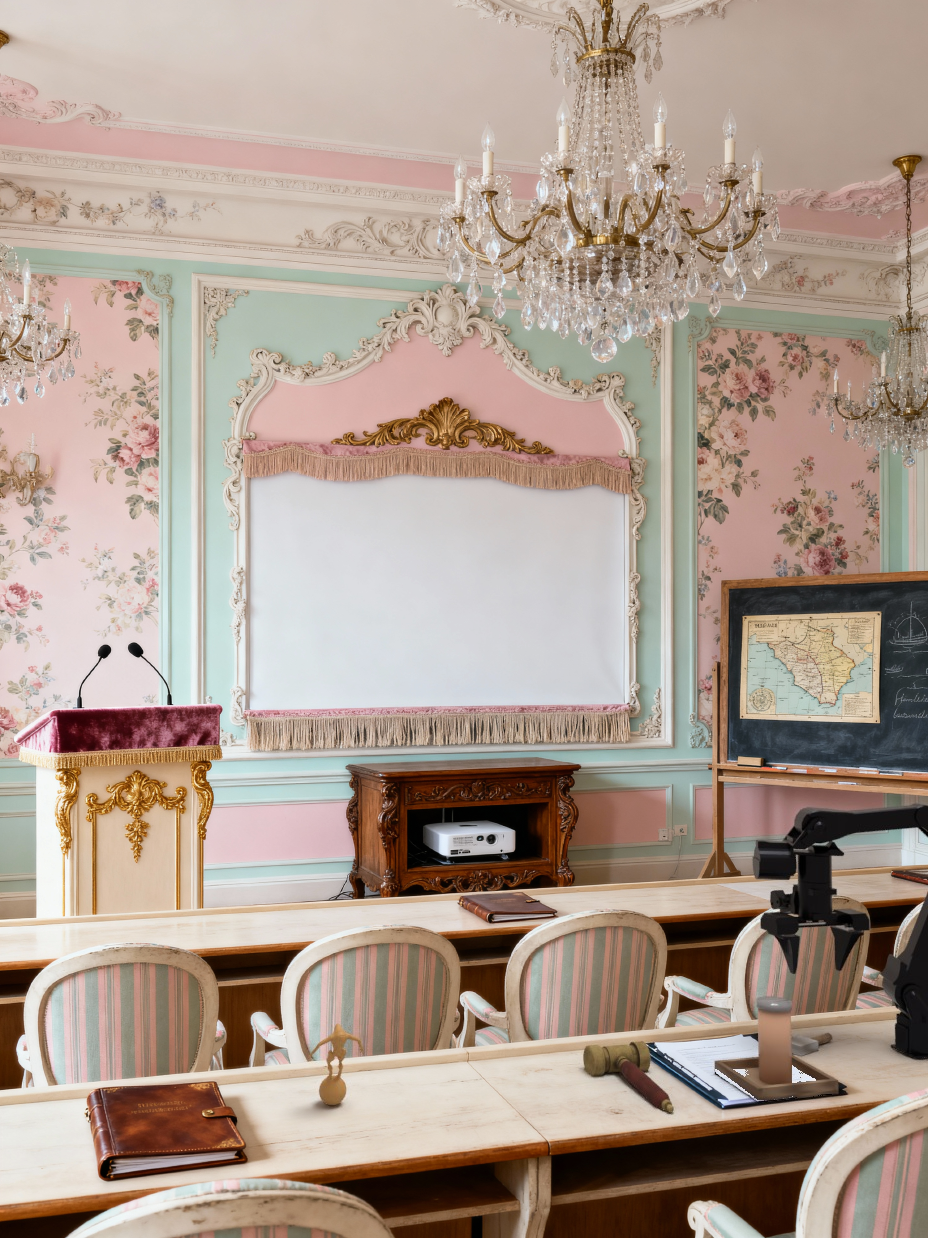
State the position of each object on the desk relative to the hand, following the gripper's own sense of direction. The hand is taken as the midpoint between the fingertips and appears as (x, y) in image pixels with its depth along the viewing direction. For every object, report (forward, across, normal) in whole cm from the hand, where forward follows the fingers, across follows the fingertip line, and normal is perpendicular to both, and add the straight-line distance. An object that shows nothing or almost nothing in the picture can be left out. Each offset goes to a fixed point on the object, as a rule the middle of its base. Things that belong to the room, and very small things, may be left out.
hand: (815, 972), depth 182 cm
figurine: (+13, +85, +5) cm, 86 cm away
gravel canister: (+12, +17, +13) cm, 24 cm away
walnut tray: (+13, +17, +13) cm, 25 cm away
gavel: (+14, +38, +9) cm, 42 cm away
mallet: (+13, +1, -1) cm, 13 cm away
